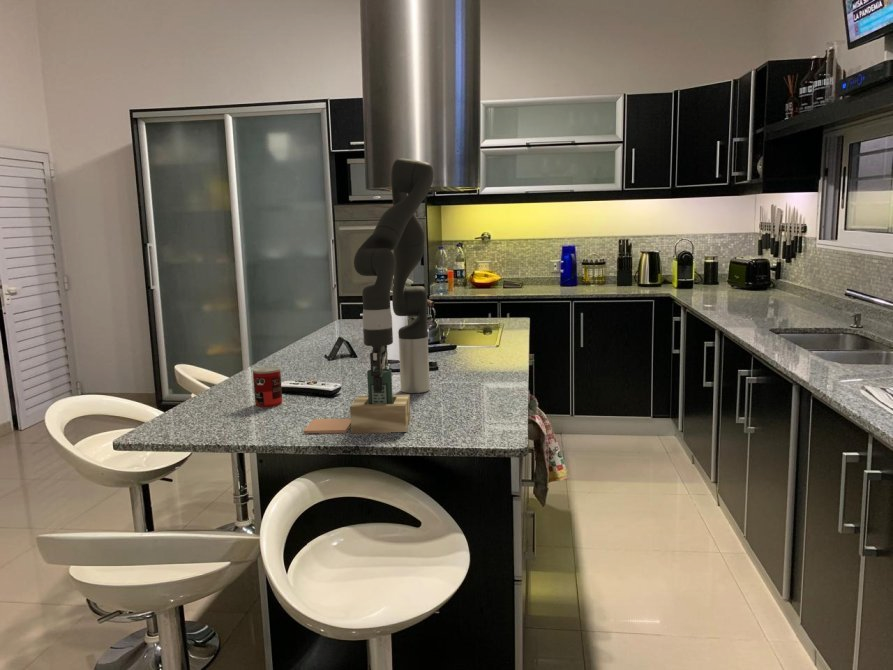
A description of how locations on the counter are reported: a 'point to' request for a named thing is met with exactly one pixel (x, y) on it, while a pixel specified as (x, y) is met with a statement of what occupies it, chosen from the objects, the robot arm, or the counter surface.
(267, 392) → the canned food
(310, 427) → the plate
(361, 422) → the bore block
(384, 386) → the can
